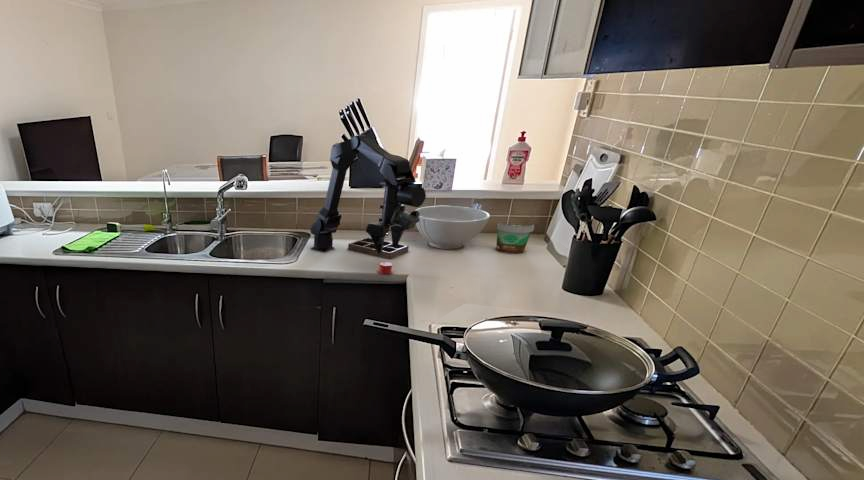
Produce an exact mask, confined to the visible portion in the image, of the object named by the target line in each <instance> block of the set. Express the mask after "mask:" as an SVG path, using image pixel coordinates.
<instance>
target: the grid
mask: <svg viewBox="0 0 864 480" xmlns="http://www.w3.org/2000/svg"><path fill="white" fill-rule="evenodd" d="M409 247H410V245H407V244H402V243H398V245H397V247H396V248H394V247H393V243H392V241H388V240H384V243H383V248H382V252H381V254H379V253H377V250H376V248H375V245H374V242H373V240H372V238H371V237H363V238H361V239H358V240H356V241H353V242H350V243H348V245H347V250H348V251H352V252H357V253H360V254H365V255H369V256H373V257H374V256H375V257H378V258H383V259H386V260H391V259H393V258H396V257H398V256H401V255H403V254H406V253H409Z"/></svg>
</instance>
